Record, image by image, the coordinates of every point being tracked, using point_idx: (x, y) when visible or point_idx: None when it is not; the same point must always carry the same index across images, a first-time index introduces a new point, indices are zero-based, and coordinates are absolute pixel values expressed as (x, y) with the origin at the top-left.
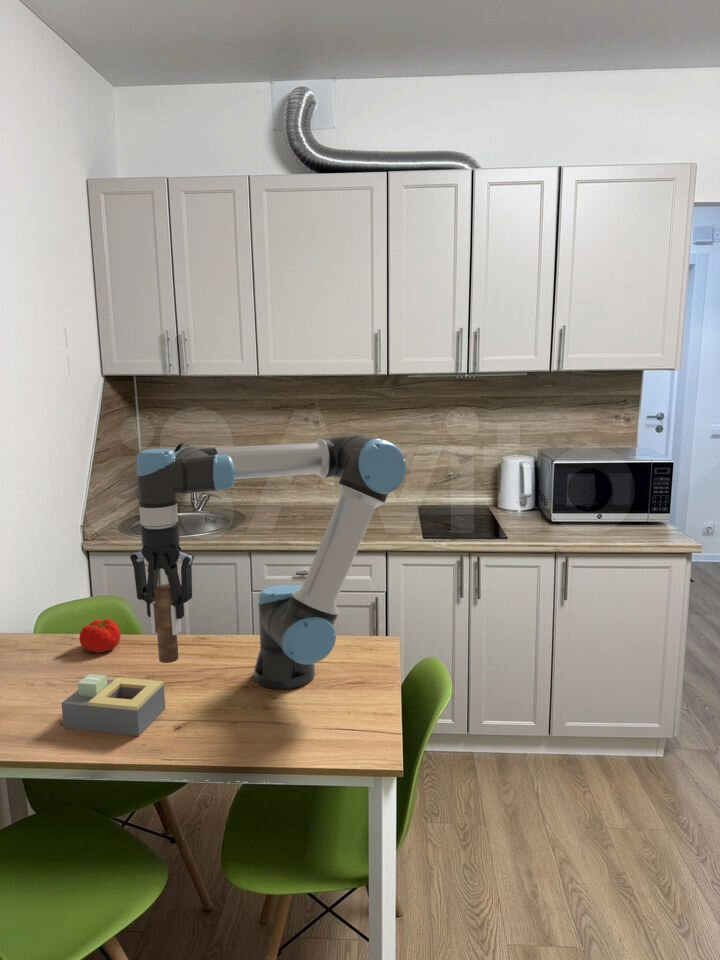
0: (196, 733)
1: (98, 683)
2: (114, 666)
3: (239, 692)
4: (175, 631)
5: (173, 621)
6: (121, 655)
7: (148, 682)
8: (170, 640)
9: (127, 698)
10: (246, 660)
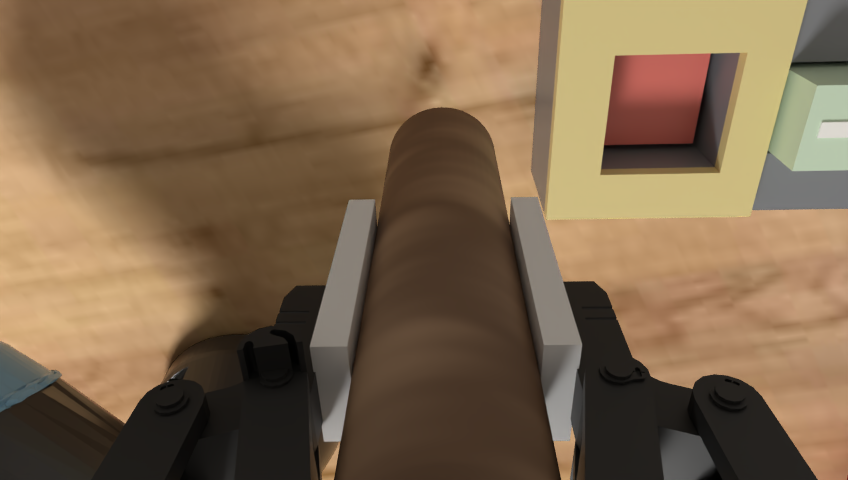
0: (346, 43)
1: (808, 104)
2: (814, 375)
3: None
4: (347, 213)
5: (347, 253)
6: (814, 433)
7: (603, 201)
8: (396, 180)
9: (668, 141)
10: None
